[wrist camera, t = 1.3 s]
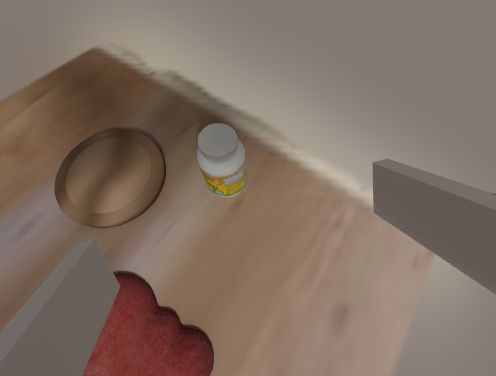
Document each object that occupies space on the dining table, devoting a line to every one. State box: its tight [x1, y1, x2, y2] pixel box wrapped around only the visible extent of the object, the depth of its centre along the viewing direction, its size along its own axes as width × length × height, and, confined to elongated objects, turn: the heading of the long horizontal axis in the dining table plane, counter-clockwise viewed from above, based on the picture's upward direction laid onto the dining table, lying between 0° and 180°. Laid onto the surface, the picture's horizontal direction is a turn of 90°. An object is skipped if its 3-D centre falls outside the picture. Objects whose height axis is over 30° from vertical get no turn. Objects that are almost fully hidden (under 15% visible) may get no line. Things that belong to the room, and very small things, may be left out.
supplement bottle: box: [197, 123, 247, 197], centre depth 29 cm, size 5×5×10 cm
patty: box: [82, 274, 214, 376], centre depth 25 cm, size 18×14×2 cm
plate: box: [55, 130, 166, 228], centre depth 33 cm, size 14×14×1 cm
